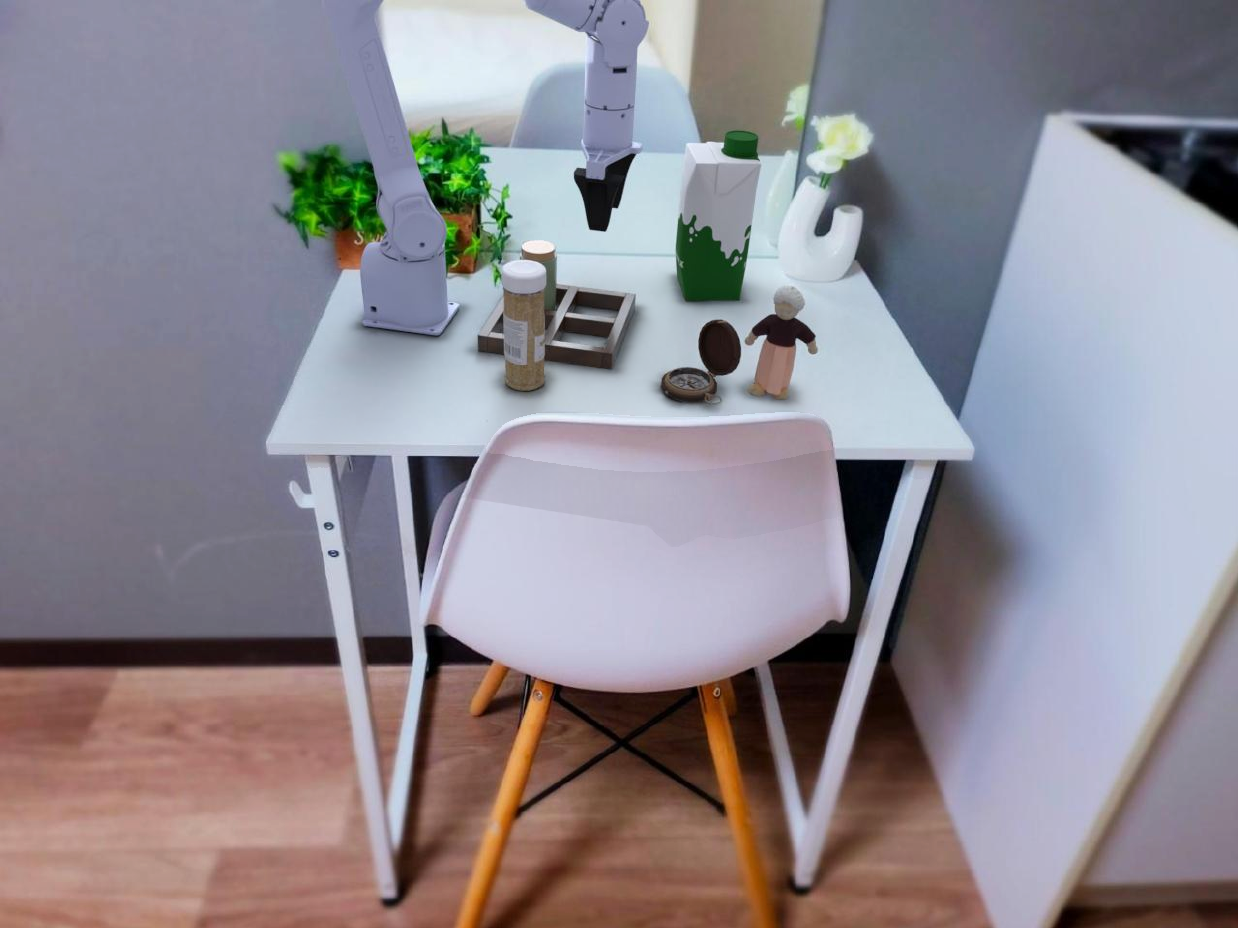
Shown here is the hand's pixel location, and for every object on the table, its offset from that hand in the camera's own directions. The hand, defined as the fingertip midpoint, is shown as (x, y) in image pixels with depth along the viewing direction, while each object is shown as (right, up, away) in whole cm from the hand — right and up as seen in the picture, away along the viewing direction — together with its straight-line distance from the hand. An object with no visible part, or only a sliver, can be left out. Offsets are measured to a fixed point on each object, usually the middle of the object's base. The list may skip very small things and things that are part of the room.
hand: (604, 218), depth 119 cm
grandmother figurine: (+19, -22, -11) cm, 31 cm away
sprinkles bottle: (-9, -21, -12) cm, 26 cm away
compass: (+11, -22, -12) cm, 27 cm away
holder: (-5, -14, -2) cm, 15 cm away
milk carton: (+13, -7, +9) cm, 18 cm away
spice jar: (-8, -11, +2) cm, 14 cm away
